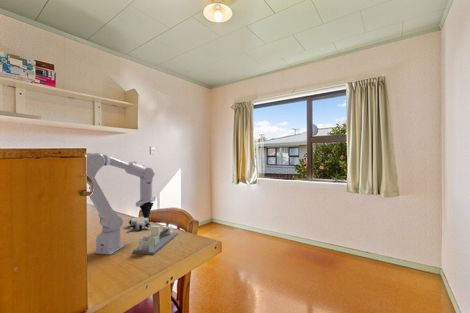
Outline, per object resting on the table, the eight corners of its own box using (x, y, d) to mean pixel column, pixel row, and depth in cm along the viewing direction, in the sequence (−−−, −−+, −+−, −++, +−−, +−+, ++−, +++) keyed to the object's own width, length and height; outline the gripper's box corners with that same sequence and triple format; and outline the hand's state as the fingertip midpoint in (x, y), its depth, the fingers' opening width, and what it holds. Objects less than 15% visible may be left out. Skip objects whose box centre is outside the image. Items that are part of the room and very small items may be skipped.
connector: (149, 251, 96) (149, 241, 96) (138, 250, 97) (138, 240, 97) (155, 246, 101) (155, 236, 101) (145, 245, 102) (145, 236, 102)
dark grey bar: (147, 246, 98) (147, 243, 98) (144, 246, 98) (144, 243, 98) (168, 230, 117) (168, 228, 117) (166, 230, 117) (166, 228, 117)
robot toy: (152, 231, 127) (150, 221, 140) (152, 223, 127) (150, 214, 140) (128, 234, 122) (128, 224, 135) (128, 226, 121) (128, 217, 135)
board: (154, 254, 95) (154, 243, 95) (132, 252, 97) (132, 242, 97) (177, 234, 118) (177, 225, 118) (160, 233, 120) (160, 224, 120)
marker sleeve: (154, 245, 101) (154, 229, 101) (146, 244, 102) (146, 228, 102) (160, 241, 106) (159, 226, 106) (152, 241, 106) (152, 225, 106)
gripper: (145, 193, 106) (145, 222, 106) (160, 188, 120) (160, 214, 120) (131, 193, 107) (132, 221, 107) (148, 188, 121) (148, 213, 122)
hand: (146, 217), depth 114 cm, fingers closed
